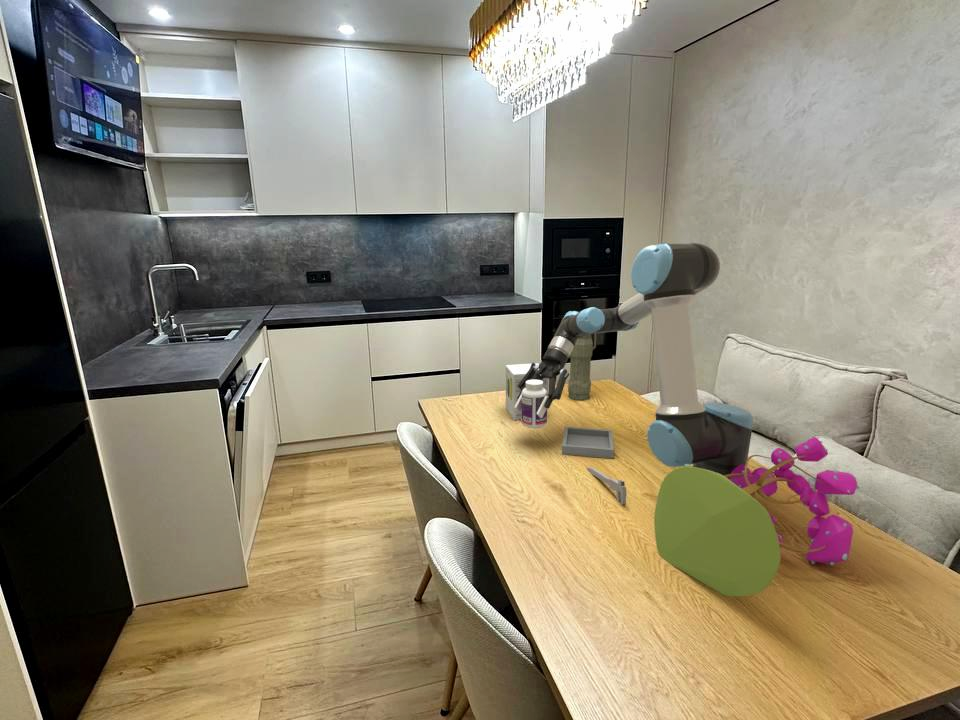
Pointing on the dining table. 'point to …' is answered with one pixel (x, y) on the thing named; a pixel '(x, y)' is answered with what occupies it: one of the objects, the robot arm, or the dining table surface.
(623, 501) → the caliper
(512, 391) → the supplement box
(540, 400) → the pill bottle
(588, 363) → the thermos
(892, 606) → the dining table surface
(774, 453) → the fallen flowering cactus
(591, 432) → the tray
